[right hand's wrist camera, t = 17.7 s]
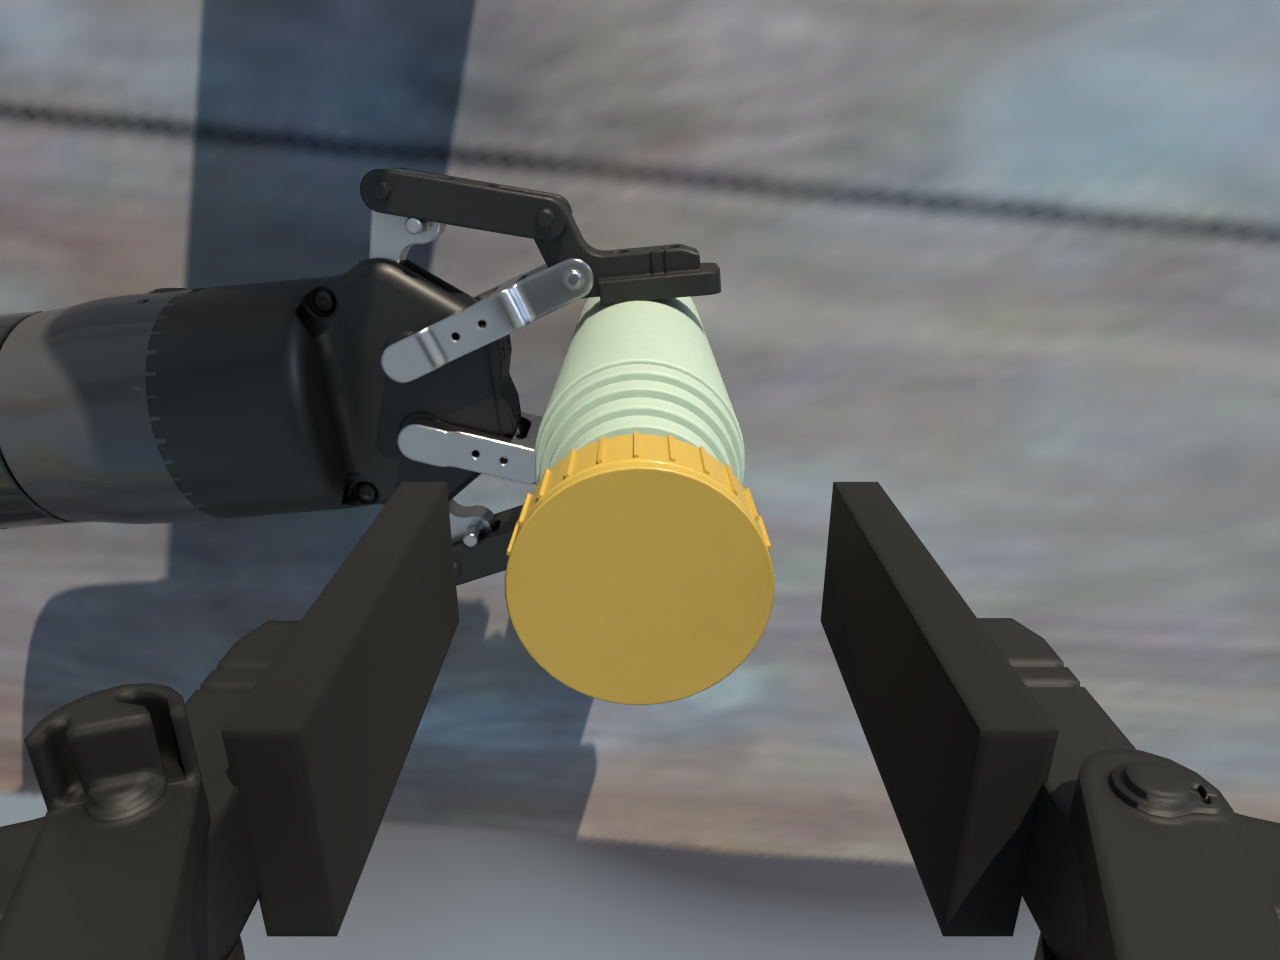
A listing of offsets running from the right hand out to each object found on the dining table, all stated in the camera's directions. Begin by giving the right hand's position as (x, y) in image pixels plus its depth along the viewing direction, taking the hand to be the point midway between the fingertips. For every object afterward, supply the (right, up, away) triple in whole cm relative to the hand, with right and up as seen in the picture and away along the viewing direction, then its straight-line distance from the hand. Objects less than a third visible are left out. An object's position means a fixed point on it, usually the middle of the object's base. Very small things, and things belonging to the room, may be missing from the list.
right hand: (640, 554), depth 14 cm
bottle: (0, +7, +19) cm, 20 cm away
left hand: (+3, +5, +12) cm, 14 cm away
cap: (0, 0, -1) cm, 1 cm away
